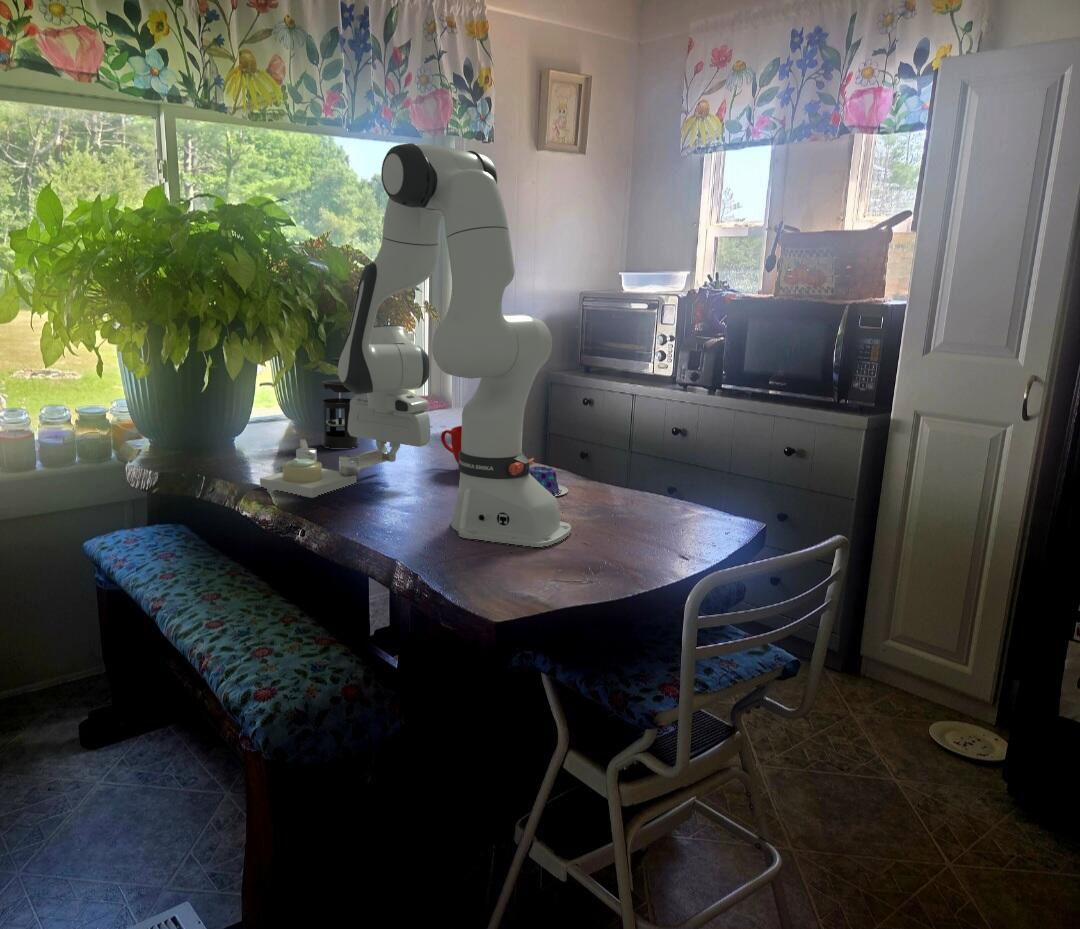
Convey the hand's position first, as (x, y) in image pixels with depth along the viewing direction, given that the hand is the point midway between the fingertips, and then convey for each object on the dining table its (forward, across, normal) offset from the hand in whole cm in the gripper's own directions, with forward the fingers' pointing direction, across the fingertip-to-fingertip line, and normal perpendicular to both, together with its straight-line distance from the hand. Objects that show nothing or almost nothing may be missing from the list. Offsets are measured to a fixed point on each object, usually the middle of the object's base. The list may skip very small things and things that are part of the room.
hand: (388, 460), depth 180 cm
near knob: (+2, -4, -3) cm, 5 cm away
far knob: (+2, -20, -5) cm, 20 cm away
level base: (+4, -10, -14) cm, 18 cm away
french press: (+4, -30, +21) cm, 37 cm away
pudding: (+5, +33, +11) cm, 35 cm away
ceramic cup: (+4, +11, +18) cm, 21 cm away
